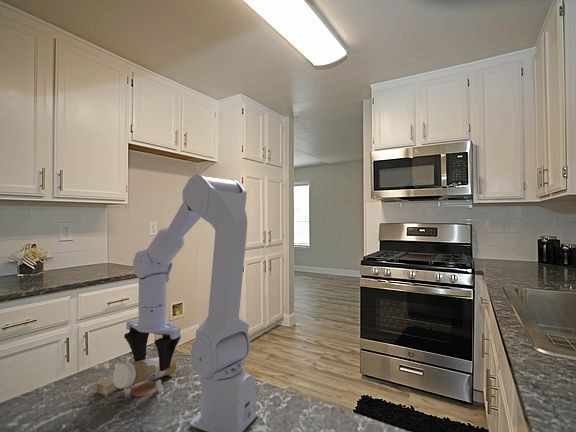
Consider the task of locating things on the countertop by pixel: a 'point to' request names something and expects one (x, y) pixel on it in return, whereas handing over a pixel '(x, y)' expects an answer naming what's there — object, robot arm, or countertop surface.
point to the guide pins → (128, 389)
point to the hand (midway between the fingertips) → (152, 365)
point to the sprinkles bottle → (140, 372)
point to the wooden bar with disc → (136, 390)
